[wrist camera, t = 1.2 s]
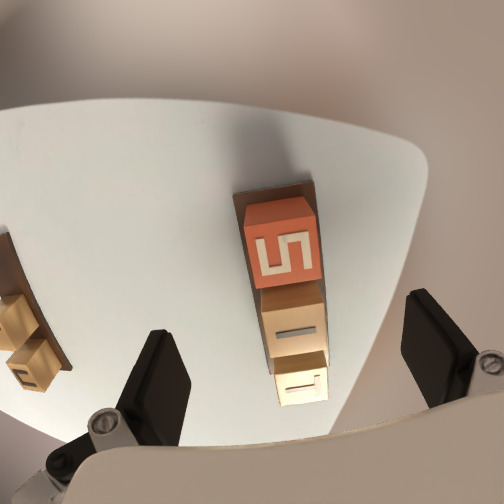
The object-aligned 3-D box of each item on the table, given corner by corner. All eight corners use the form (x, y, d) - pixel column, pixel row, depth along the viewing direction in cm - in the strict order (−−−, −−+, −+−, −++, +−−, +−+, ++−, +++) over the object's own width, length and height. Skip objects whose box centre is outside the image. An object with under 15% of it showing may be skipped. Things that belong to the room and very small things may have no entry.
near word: (232, 193, 23) (224, 214, 17) (312, 180, 22) (329, 197, 17) (269, 371, 29) (271, 414, 24) (328, 362, 29) (339, 404, 24)
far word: (-18, 241, 25) (-50, 262, 19) (8, 231, 24) (-27, 253, 19) (42, 366, 31) (23, 394, 26) (72, 367, 31) (53, 399, 26)
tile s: (246, 204, 22) (243, 226, 18) (303, 195, 22) (315, 215, 17) (256, 257, 24) (256, 290, 19) (310, 248, 24) (322, 279, 19)
